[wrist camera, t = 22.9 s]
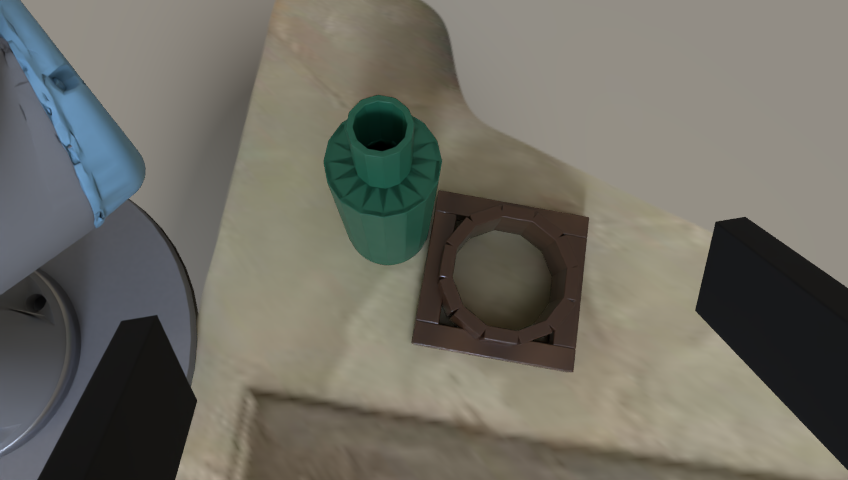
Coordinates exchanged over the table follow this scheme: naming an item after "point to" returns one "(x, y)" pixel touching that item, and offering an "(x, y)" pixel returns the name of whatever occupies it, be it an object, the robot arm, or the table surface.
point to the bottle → (384, 179)
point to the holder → (565, 260)
